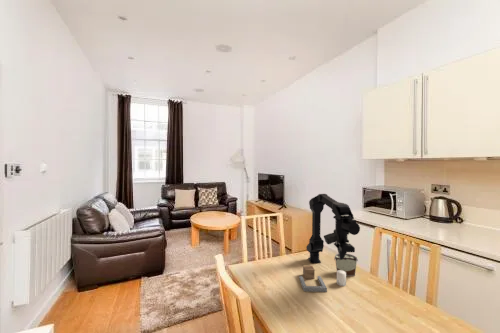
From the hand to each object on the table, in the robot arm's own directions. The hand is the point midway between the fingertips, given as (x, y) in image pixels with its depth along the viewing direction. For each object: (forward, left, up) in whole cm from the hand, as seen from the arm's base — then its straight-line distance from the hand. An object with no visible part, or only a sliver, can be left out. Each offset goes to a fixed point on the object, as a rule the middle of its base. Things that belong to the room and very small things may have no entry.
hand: (341, 259), depth 115 cm
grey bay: (+1, -15, -12) cm, 20 cm away
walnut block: (-7, -15, -13) cm, 21 cm away
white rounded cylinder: (0, 0, -12) cm, 12 cm away
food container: (-12, +6, -13) cm, 18 cm away
